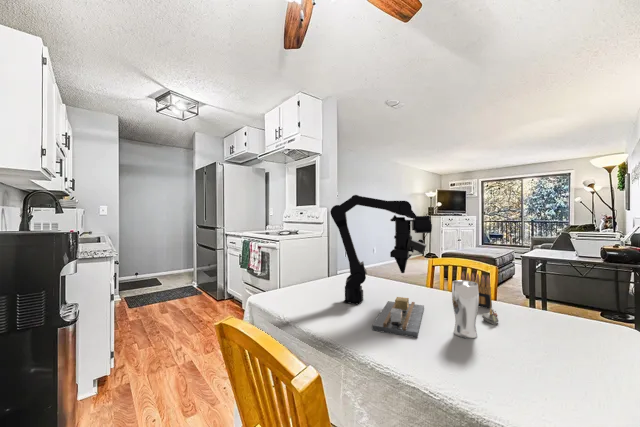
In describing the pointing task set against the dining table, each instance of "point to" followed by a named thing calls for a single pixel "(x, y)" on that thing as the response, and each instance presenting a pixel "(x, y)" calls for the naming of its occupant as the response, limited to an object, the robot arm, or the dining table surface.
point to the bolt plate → (406, 326)
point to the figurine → (490, 316)
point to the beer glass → (465, 308)
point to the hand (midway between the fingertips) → (402, 273)
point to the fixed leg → (396, 315)
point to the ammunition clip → (486, 290)
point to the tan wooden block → (402, 303)
